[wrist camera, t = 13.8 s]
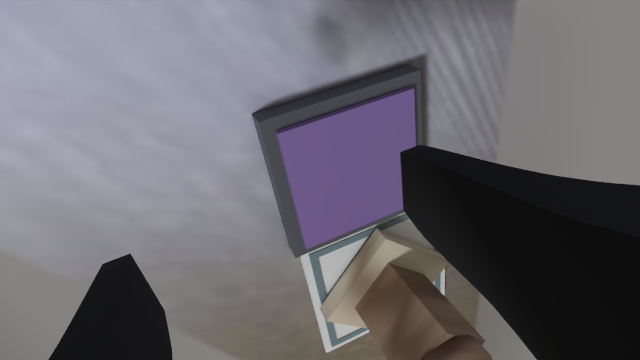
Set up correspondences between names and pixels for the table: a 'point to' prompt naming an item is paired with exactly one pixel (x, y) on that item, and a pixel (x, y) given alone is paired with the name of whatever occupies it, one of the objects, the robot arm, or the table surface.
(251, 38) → the table surface
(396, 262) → the stamp
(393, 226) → the form card
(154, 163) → the table surface
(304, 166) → the ink pad
